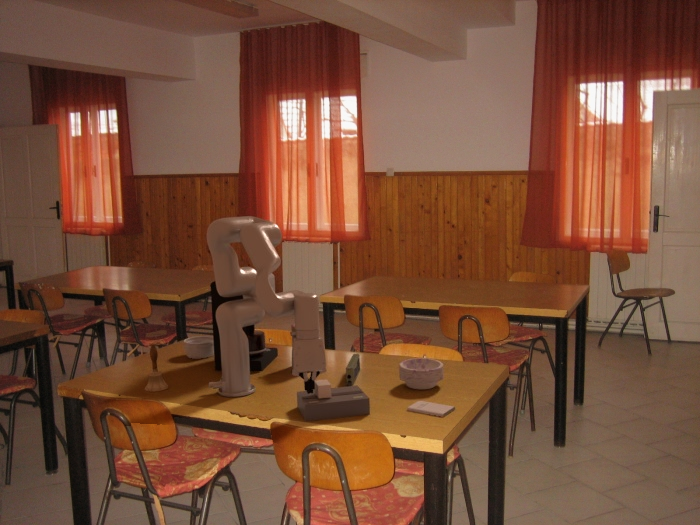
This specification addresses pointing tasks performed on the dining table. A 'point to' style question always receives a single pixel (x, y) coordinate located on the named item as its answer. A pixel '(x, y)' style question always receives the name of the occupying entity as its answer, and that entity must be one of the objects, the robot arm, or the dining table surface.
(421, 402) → the external hard drive
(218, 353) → the coffee maker
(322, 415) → the switch panel
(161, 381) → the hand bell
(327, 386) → the knob
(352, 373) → the handheld radio
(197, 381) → the dining table surface
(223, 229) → the robot arm
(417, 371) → the pale lavender bowl
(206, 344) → the ramekin
